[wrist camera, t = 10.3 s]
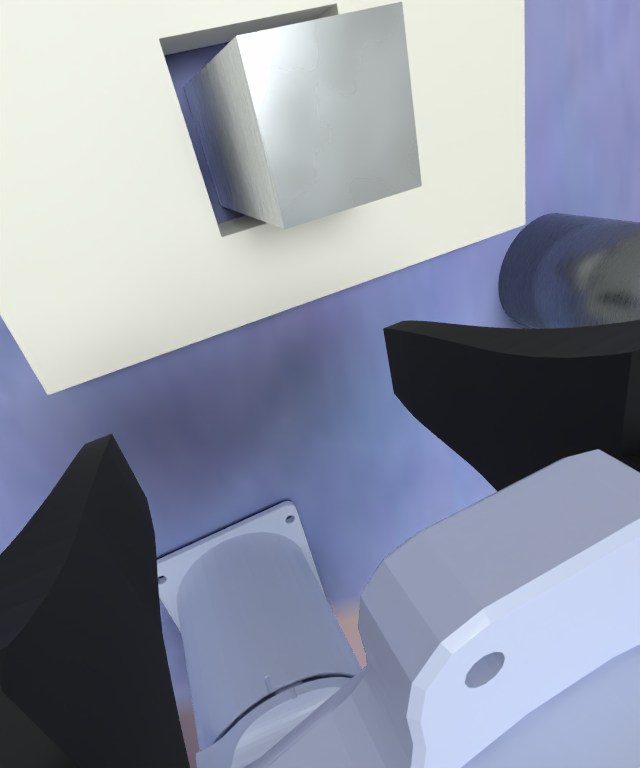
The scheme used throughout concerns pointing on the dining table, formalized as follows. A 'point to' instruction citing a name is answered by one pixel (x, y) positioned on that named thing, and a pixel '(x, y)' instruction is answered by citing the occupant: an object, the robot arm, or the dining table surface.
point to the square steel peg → (309, 117)
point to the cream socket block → (186, 185)
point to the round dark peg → (572, 272)
